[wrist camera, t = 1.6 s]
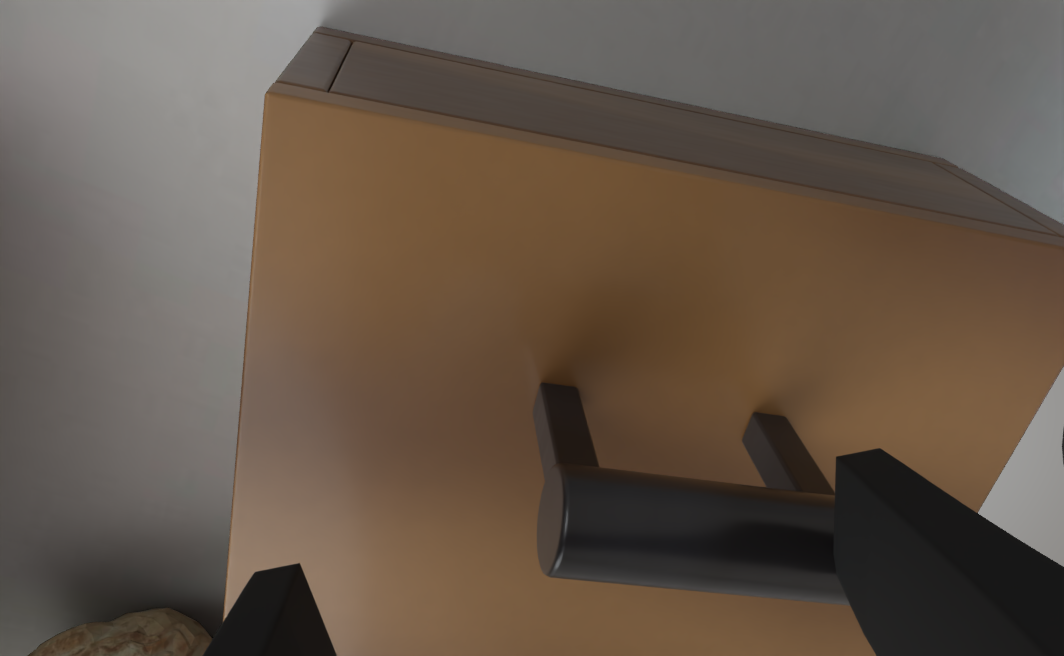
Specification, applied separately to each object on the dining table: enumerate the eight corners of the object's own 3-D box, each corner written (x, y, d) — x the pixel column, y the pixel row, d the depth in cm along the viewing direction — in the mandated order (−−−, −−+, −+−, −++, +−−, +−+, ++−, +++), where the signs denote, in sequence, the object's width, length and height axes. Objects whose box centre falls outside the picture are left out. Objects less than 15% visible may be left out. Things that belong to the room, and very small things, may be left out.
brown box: (840, 703, 21) (939, 907, 17) (224, 660, 18) (162, 893, 14) (1100, 244, 15) (1345, 380, 11) (272, 80, 13) (193, 181, 8)
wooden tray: (775, 532, 25) (852, 681, 20) (269, 476, 22) (226, 634, 18) (944, 157, 20) (1099, 243, 15) (316, 24, 17) (273, 79, 13)
